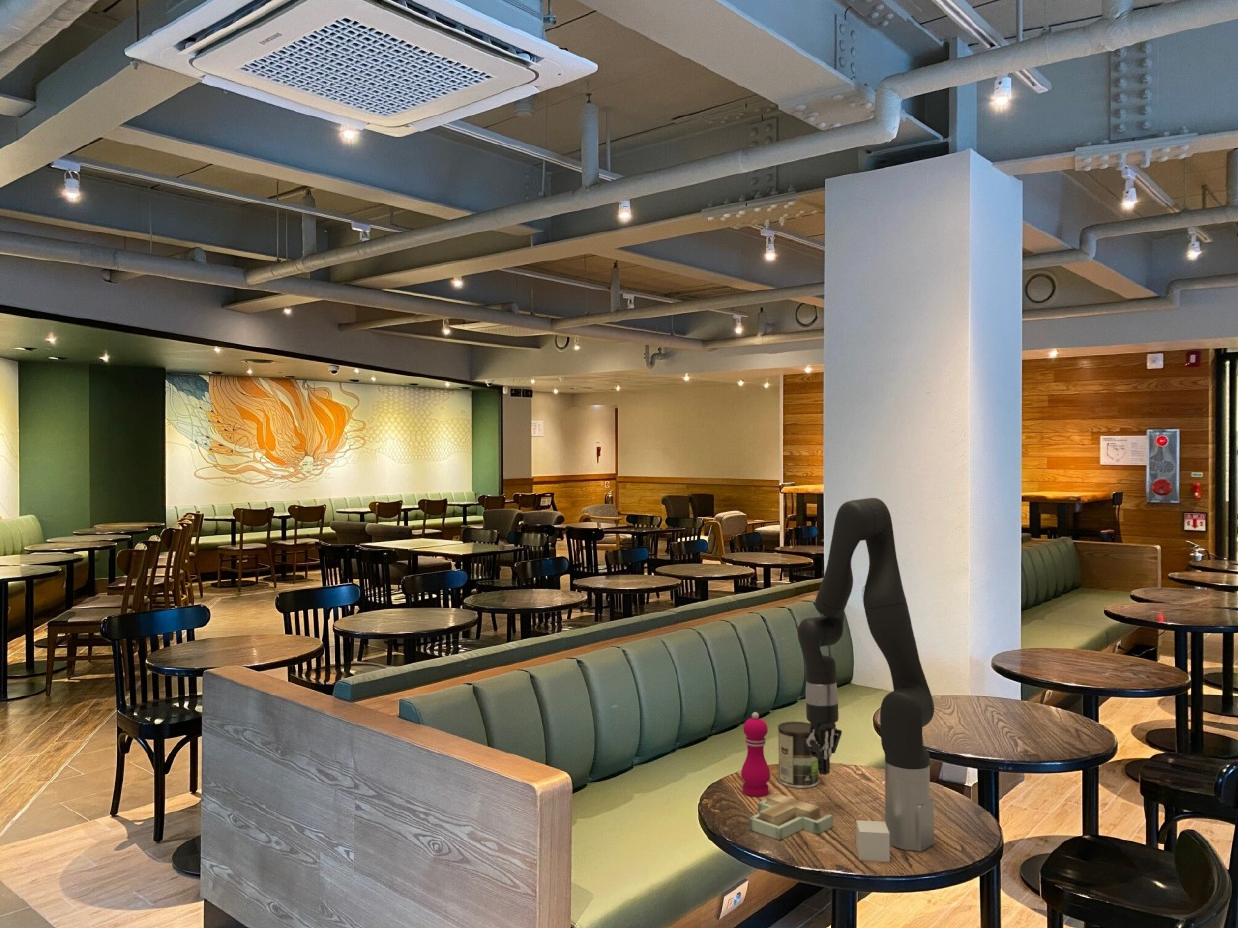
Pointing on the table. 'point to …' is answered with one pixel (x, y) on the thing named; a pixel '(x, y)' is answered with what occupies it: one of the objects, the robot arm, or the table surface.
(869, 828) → the beige cube
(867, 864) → the table surface
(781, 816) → the t block
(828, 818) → the t dock
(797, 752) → the coffee can
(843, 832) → the table surface
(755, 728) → the pepper mill
